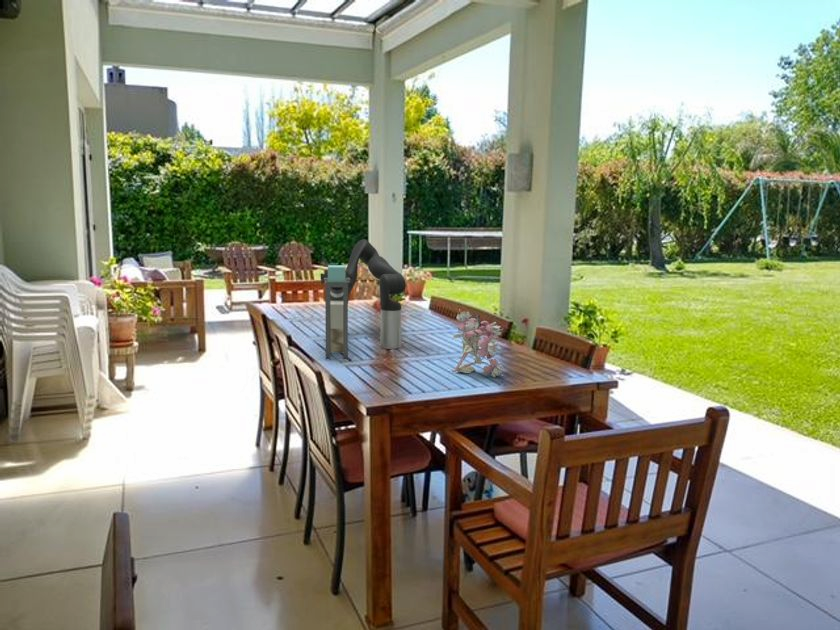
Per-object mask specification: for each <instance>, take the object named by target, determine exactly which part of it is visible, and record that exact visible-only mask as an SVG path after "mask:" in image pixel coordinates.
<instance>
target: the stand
mask: <svg viewBox="0 0 840 630" xmlns="http://www.w3.org/2000/svg"><path fill="white" fill-rule="evenodd" d="M324 285H325V286H324V287H325V289H324V290H325V294H324V295H325V297H324V298H325V301H324V302H325V360H326V359H330V360H331V354H332V353H331V308H330V287H343V352H342V353H343V354H342V355H343V357H342V358H343V359H346V360H349V359H348V357H349V353H348V352H349V347H348V346H349V345H348V344H349V328H348V327H349V326H348V325H349V324H348V323H349V317H348V316H349V308H348V307H349V301H348V279H345V282H328V279H326V282H325V283H324Z"/></svg>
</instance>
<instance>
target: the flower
mask: <svg viewBox="0 0 840 630" xmlns="http://www.w3.org/2000/svg"><path fill="white" fill-rule="evenodd" d="M458 310H459V313H457V314H456V315H457V316H455V317H456V320H457V322H458V323H459V324H458V325H457V331H459V332H463V331H465V327H466V329H467V330H469V331H468V332H466V333H465V334H463V333H462V334H461V333H458V334H454V335H453V337H452V338H451V340H454V339H459V338H462V340H461V342H460V343H461V344H463V343H465V344H466V346H465V348H464V351H463V350H462V353H461V355H462V356H461V358H460V359H459V362H458V363H457V364H456V366H455V368H454V369H453V370H451V371H450V372H451V373H452V372H453V373H457V372H459V373H460V372H461V373H464V374H466V373H469V374H471V373H473V371H476V368H475V367H474V366H473V365H475V364H477V365H482V364H486V365H484V366H483V368H482V369H483V374H485V375H488V374H491V377H493V378H496V376H497V377H498V375H501V376H502V377H503V376H504V374H502V373H503V369H504V366H503V365H501V364H500V365H499V363H498V359H497V358H496V357H495V358H494V356H495V354H494V353H497V354H498V351H497V350H501V348H500V347H499V346H500V344H499V343H498V341H497V340H495V339H497V338H499V336H500V335H501V334H502V330H503V329H504V328H502V329H501V326H500V325H497V322H496V321H494V322H492V323H489V321H487V320H483V321H480V328H479V329H478V330H477V327H478V325H479V323H478V322H477V321H476V319H475V318H470V319H469V317H470V314H471V313H470V312H469V310H467V311H465V310H464V311H461V309H460V308H459V309H458ZM475 333H477V335H475V336H474V334H475ZM467 336H468V337H469V339H468V337H467ZM481 337H482V338H483V339H482V338H481ZM463 338H464V339H465V340H466V341H464V340H463ZM476 341H478V345H477V346H479V349H478V351H477V353H475V352H473V353H469V352H470V351H474V350H473V348H475V347H477V346H474V347H473V348H472V346H473V344H474V342H476ZM471 342H473V343H472V345H471ZM468 355H470V356H473V357H475V358H473V362H471V363H465V362H464V361H465V359H466V357H467V356H468ZM481 357H482V358H481ZM485 357H486V359H487V360H488V362H489V363H488V362H485V361H482V360H484V359H485ZM463 362H464V363H463Z"/></svg>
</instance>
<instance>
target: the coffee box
mask: <svg viewBox="0 0 840 630" xmlns="http://www.w3.org/2000/svg"><path fill="white" fill-rule="evenodd" d="M469 314H470V317H469V319H470V318H475V319H476V321H477V322H478V323H479V325H478V327H477V330H478V329H479V328H480V327H481V324H480V323H481V321H480V320H481V314H472V313H469ZM468 331H469V330H467V329H466V327H465V331H462V334H465V333H466V332H468ZM475 335H477V333H475V334H474V336H475ZM467 337H468V336H467ZM468 339H469V337H468ZM462 340H464V341H466V340H465V339H464V338H463V337H462ZM472 343H473V342H471V345H472ZM477 345H478V341H476V342H474V344H473V346H472V348H473V347H474V346H477ZM465 346H466V344H465V343H462V352H463V351H464V348H465ZM478 349H480V347H479V346H477V347H475V348H473V350H474V351H470V352H469V353H468V354H472V353H473V352H475V353H476V354H478V353H477V351H478Z"/></svg>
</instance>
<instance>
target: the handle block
mask: <svg viewBox="0 0 840 630" xmlns="http://www.w3.org/2000/svg"><path fill="white" fill-rule="evenodd" d="M327 270H328V282H345V270H346V264H345V265H342V264H340V265H337V264H336V265H335V264H334V265H333V264H332V265H331V264H330V265H327Z"/></svg>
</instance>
